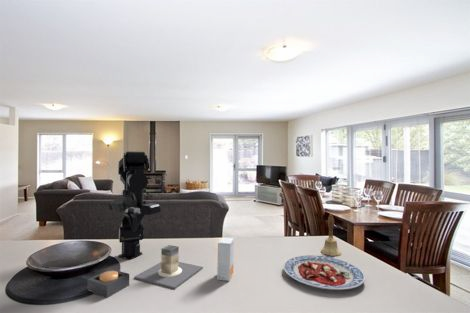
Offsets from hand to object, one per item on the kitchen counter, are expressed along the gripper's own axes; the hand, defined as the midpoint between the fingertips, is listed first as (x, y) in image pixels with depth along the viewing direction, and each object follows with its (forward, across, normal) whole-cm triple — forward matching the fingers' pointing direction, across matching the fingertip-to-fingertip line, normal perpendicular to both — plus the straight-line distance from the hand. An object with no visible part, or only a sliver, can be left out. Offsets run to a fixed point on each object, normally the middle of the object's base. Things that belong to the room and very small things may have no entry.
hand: (134, 231), depth 93 cm
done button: (+11, +4, -14) cm, 18 cm away
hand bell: (+13, +62, +48) cm, 79 cm away
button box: (+13, +4, -14) cm, 19 cm away
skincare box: (+13, +32, +8) cm, 36 cm away
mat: (+13, +14, +2) cm, 19 cm away
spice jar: (+12, +14, +2) cm, 19 cm away
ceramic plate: (+13, +61, +24) cm, 67 cm away
